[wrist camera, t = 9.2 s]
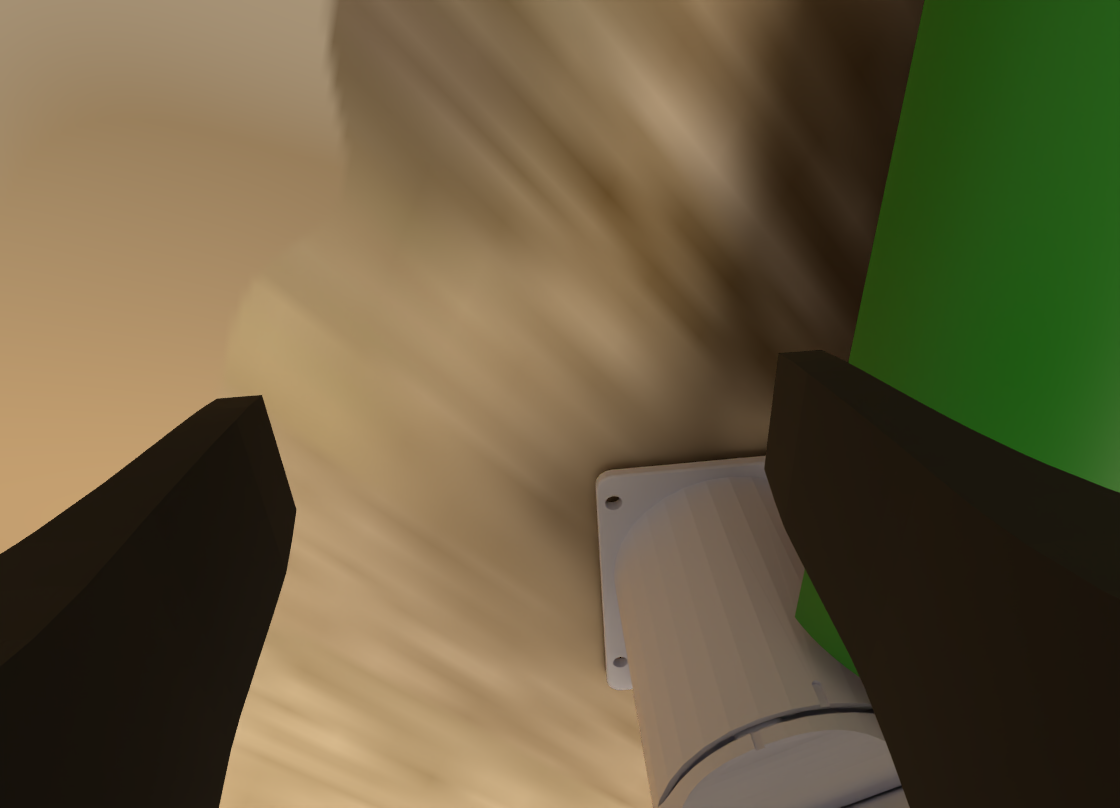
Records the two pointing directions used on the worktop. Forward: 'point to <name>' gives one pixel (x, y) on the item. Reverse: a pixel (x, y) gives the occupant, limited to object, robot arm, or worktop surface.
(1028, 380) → the green vase with flowers
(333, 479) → the worktop surface
